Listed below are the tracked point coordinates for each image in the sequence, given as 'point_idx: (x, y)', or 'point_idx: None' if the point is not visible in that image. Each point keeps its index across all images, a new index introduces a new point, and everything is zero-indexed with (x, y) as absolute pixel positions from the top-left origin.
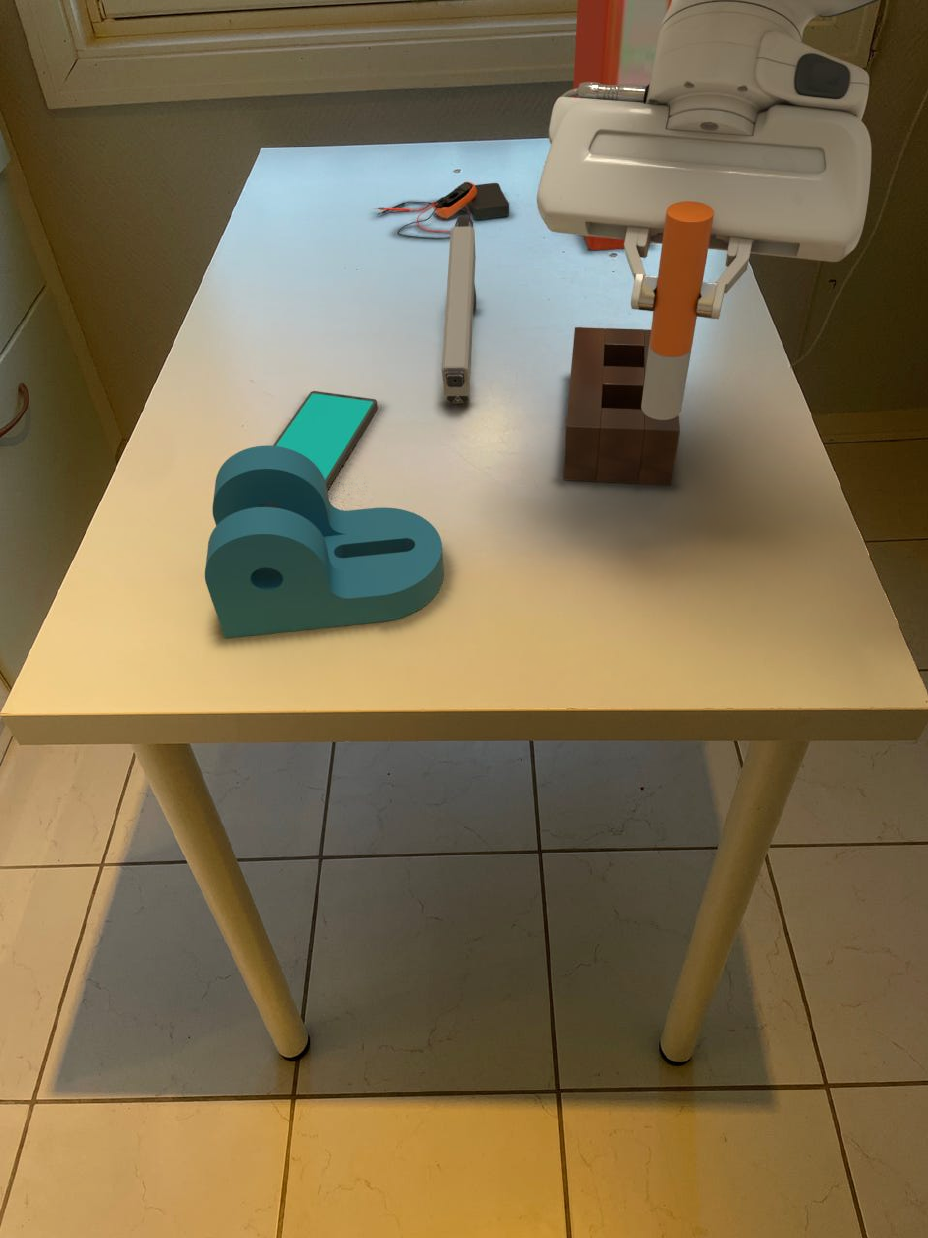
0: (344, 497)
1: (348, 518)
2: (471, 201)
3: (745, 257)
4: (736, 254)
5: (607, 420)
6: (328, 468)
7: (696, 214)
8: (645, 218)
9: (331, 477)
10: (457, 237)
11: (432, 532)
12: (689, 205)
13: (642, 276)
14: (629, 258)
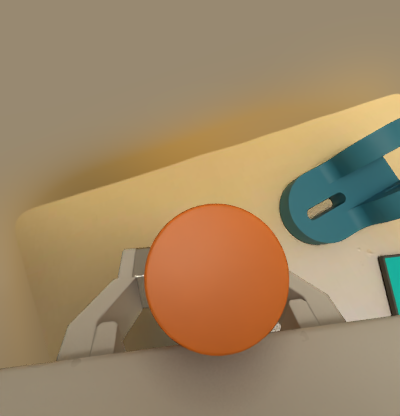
0: (367, 264)
1: (353, 224)
2: None
3: (76, 326)
4: (96, 327)
5: None
6: (392, 280)
7: (195, 256)
8: (327, 330)
9: (385, 273)
10: None
11: (303, 229)
12: (231, 313)
13: None
14: (299, 277)
